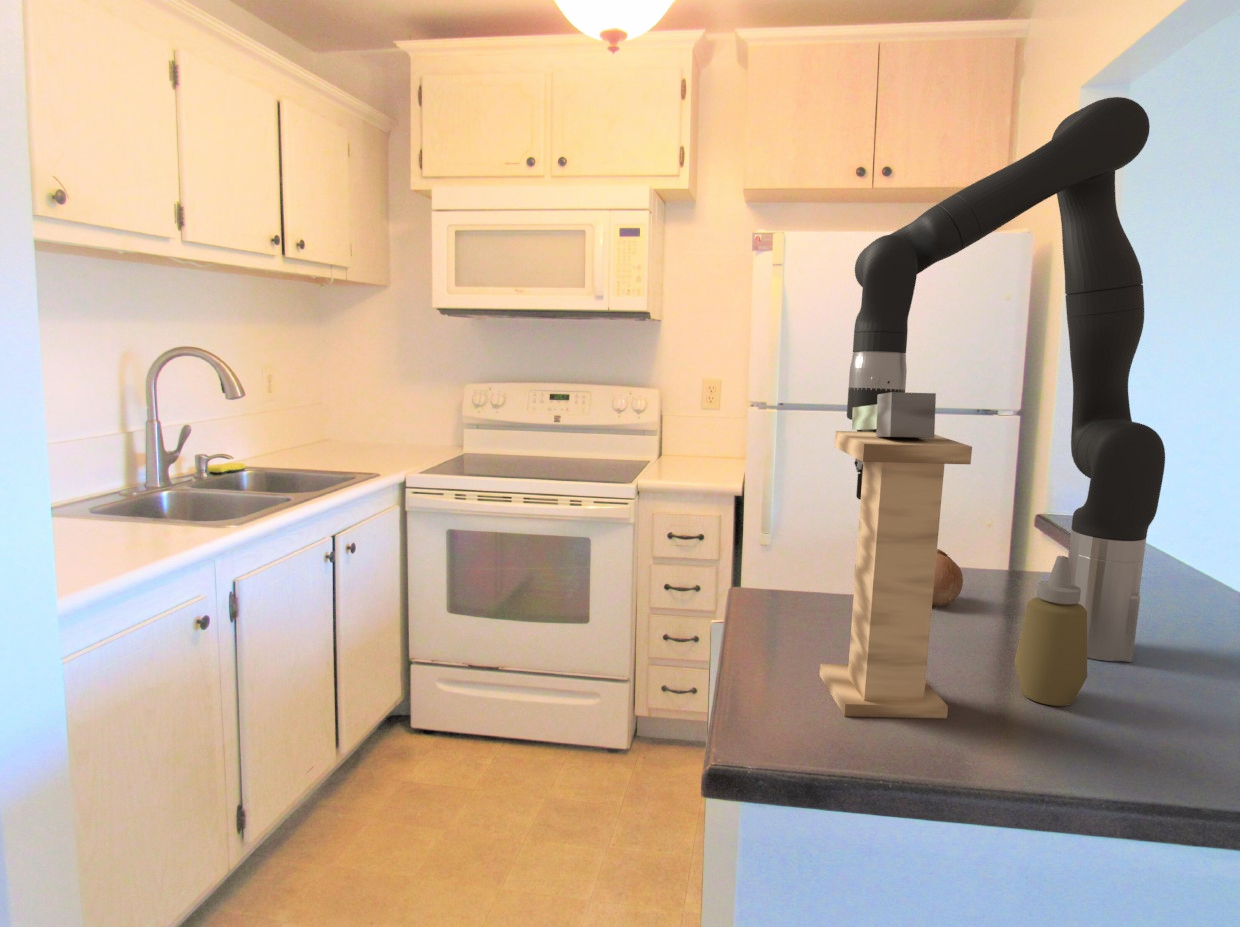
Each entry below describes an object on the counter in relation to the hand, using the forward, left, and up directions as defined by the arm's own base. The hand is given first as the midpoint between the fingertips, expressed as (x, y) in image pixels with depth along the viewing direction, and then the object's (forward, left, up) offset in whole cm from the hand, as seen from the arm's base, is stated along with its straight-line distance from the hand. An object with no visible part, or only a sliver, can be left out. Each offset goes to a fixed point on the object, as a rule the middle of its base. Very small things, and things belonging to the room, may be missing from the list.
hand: (868, 503), depth 117 cm
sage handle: (-4, +11, +11) cm, 16 cm away
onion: (-5, -26, -21) cm, 34 cm away
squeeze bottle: (-24, +5, -21) cm, 33 cm away
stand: (-6, +16, -21) cm, 27 cm away
